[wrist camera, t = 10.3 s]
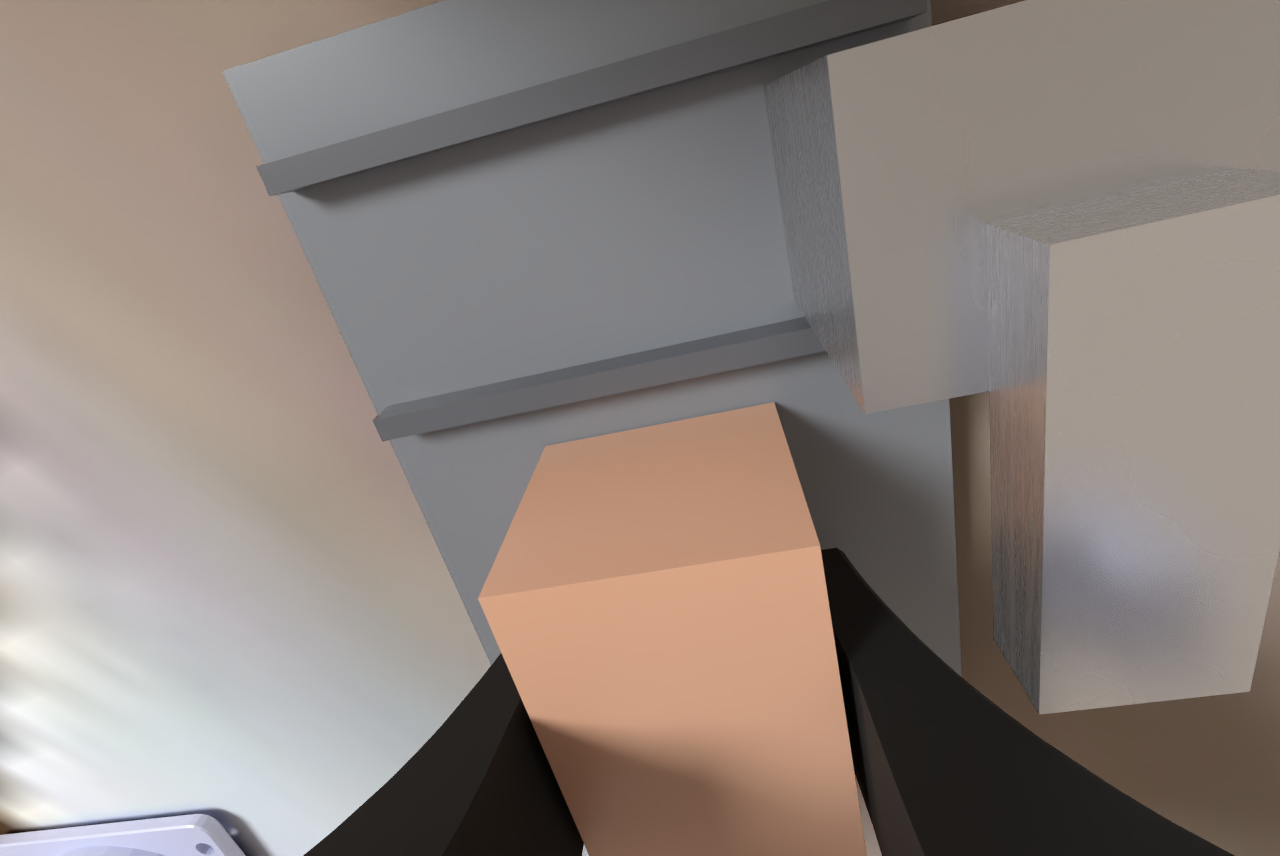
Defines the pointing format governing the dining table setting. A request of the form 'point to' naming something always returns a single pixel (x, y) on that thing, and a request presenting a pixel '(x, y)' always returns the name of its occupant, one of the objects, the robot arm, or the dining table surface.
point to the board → (588, 258)
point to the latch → (1070, 309)
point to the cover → (679, 642)
